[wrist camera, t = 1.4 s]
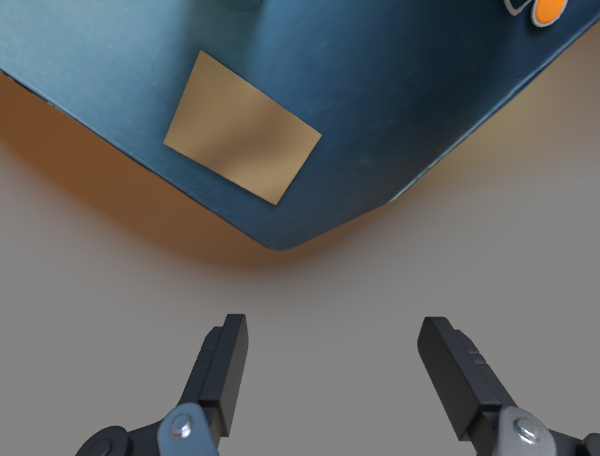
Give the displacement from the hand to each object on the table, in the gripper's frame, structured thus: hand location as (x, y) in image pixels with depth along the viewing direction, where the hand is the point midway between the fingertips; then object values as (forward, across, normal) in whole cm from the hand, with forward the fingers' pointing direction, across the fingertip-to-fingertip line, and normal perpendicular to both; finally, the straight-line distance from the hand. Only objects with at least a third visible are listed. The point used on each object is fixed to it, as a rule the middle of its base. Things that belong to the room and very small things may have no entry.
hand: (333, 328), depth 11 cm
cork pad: (+21, +8, -5) cm, 23 cm away
